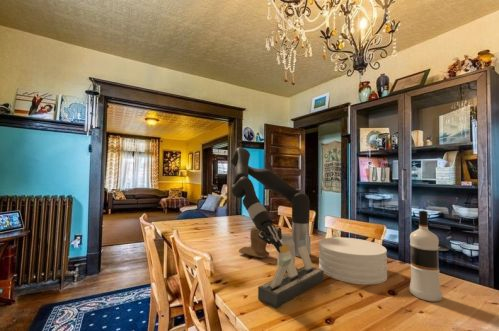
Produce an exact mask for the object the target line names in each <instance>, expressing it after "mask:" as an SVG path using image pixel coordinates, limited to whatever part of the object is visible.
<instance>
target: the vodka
mask: <svg viewBox="0 0 499 331" xmlns="http://www.w3.org/2000/svg"><path fill="white" fill-rule="evenodd" d="M428 216H429V215H428V211H426V210H419V211H418V228H417V229H416V230H414V231H412V232H411V233H410V235H409V242H410V243H409V245H410V273H411V274H410V283H409V287H408V288H409V292H410V294H412V296H414V297H416V298H417V299H420V300H423V301H427V302H434V303H435V302H440V301H441V300H442V299H443V293H442V290H441V284H440V269H439V266H440V265H439V249H440V247H439V242H440V240H439V237H438V236H437V234H435V233H433V231H430V230H429V227H428V226H429V218H428Z"/></svg>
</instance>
